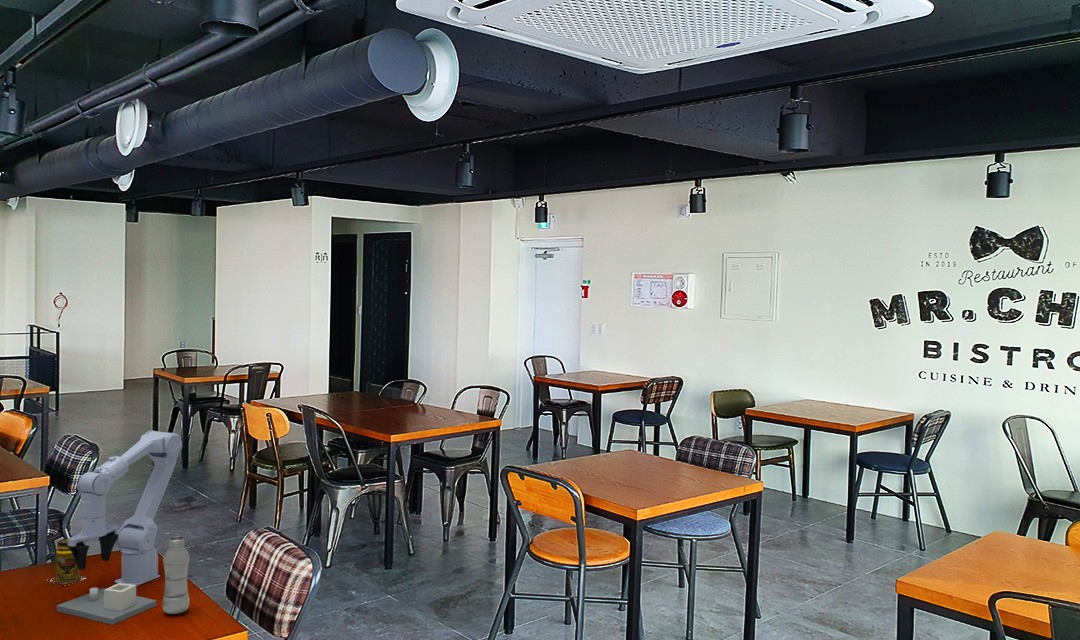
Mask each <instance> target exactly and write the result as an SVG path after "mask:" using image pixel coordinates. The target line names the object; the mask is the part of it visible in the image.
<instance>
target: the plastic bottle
mask: <svg viewBox="0 0 1080 640" xmlns="http://www.w3.org/2000/svg"><path fill="white" fill-rule="evenodd" d="M184 545H185V537H184V536H172V537H169V539H168V546H169V548H168V549H167V550H166V552H165V553H164V555H163V558H162V563H163V569H164V582H165V583H164V594H163V599H162V605H161V606H162V611H164V613H165V614H168V615H179V614H183V613H185V612H186V611H187V610H188V609H189V606H190V603H191V602H190V595H189V589H188V570H189V563H190V559H191V558H190V554H189V552H188V550H187V549H186V547H184Z"/></svg>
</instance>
